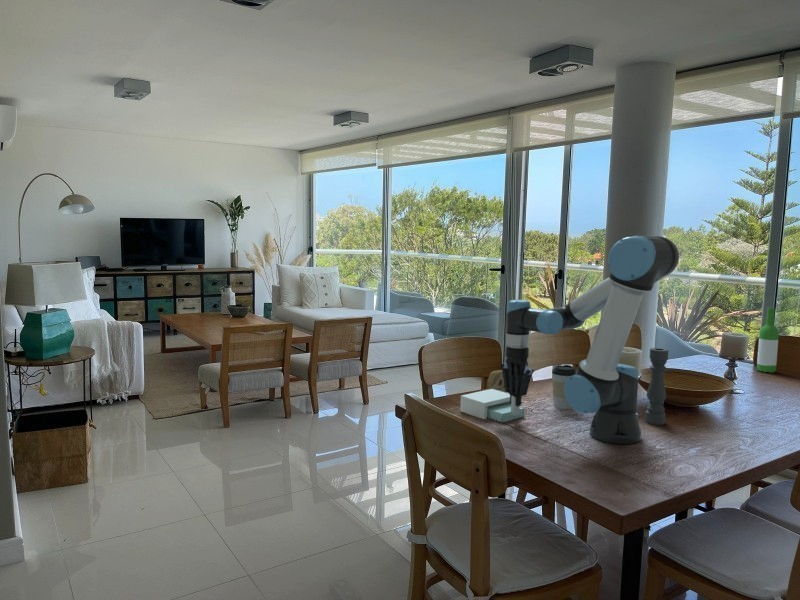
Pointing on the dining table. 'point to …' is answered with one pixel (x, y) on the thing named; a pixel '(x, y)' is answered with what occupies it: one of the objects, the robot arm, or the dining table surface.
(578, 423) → the dining table surface
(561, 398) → the coffee cup
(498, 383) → the stone disc
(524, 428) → the dining table surface
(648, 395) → the candle holder
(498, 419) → the mint green flat box
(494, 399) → the low shelf
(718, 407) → the dining table surface
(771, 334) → the wine bottle
